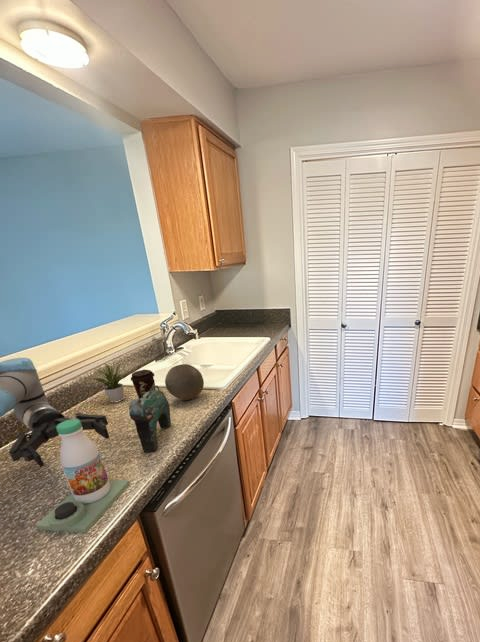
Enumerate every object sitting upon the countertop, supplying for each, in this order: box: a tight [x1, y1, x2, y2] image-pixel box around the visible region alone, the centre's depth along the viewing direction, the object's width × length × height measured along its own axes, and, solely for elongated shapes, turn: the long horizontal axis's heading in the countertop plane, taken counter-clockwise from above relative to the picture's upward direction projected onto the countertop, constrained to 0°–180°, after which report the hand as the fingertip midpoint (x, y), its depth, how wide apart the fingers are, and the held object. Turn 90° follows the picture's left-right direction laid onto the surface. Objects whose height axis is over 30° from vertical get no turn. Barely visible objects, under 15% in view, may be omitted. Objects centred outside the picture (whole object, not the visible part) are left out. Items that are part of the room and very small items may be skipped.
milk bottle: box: [56, 418, 110, 504], centre depth 76 cm, size 8×8×20 cm
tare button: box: [54, 502, 76, 520], centre depth 72 cm, size 4×4×2 cm
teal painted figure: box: [128, 384, 172, 454], centre depth 102 cm, size 20×6×20 cm, turn 3°
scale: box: [35, 478, 131, 534], centre depth 77 cm, size 17×12×3 cm
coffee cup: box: [130, 369, 157, 399], centre depth 130 cm, size 9×8×13 cm
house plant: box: [87, 360, 126, 402], centre depth 134 cm, size 14×14×16 cm
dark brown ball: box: [164, 363, 205, 401], centre depth 130 cm, size 14×14×15 cm
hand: (75, 446), depth 74 cm, fingers open, 13 cm apart
